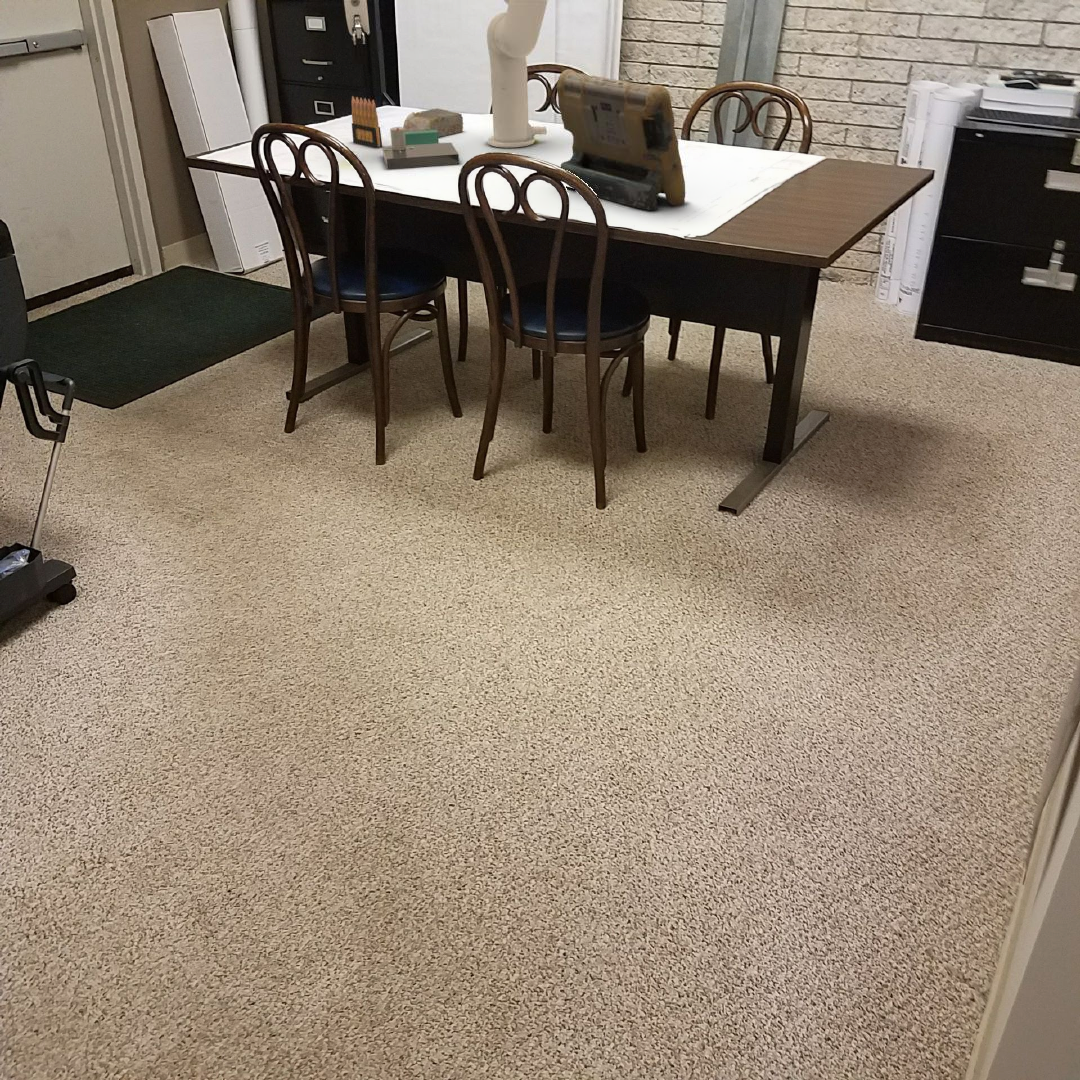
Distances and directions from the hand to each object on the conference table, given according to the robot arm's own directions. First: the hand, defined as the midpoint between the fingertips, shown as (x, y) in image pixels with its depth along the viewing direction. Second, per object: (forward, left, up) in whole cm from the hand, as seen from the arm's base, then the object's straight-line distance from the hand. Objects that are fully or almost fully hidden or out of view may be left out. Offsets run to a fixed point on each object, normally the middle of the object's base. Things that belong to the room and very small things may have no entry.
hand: (360, 59), depth 264 cm
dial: (-7, +5, -21) cm, 23 cm away
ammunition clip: (0, -15, -24) cm, 28 cm away
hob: (-12, +8, -23) cm, 28 cm away
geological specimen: (-19, -24, -24) cm, 39 cm away
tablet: (-52, +55, -24) cm, 79 cm away
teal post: (-13, -8, -23) cm, 28 cm away
